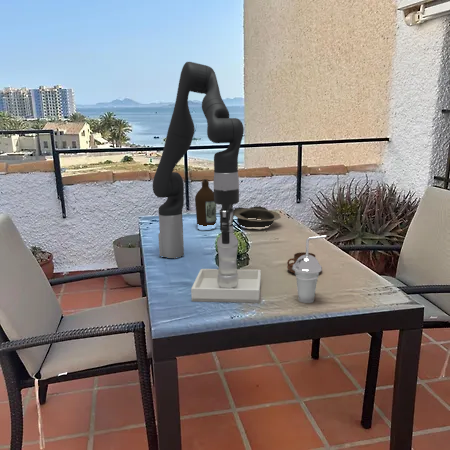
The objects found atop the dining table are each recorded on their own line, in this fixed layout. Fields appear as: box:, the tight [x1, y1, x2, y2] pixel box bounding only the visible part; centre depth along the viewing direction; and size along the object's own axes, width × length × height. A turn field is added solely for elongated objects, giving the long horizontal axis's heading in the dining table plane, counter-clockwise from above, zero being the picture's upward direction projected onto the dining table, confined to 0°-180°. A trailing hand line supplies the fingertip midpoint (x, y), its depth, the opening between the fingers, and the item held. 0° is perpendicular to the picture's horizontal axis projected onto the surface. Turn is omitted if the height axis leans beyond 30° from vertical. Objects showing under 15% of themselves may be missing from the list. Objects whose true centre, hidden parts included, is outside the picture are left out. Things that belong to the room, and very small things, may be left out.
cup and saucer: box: [286, 251, 316, 274], centre depth 151 cm, size 12×12×6 cm
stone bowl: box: [233, 205, 281, 227], centre depth 218 cm, size 25×25×9 cm
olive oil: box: [194, 178, 217, 226], centre depth 214 cm, size 11×11×25 cm
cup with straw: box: [292, 234, 327, 304], centre depth 125 cm, size 8×9×20 cm
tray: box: [190, 268, 262, 304], centre depth 135 cm, size 20×18×4 cm
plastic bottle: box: [216, 224, 239, 289], centre depth 133 cm, size 6×7×20 cm
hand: (227, 239), depth 132 cm, fingers open, 8 cm apart
